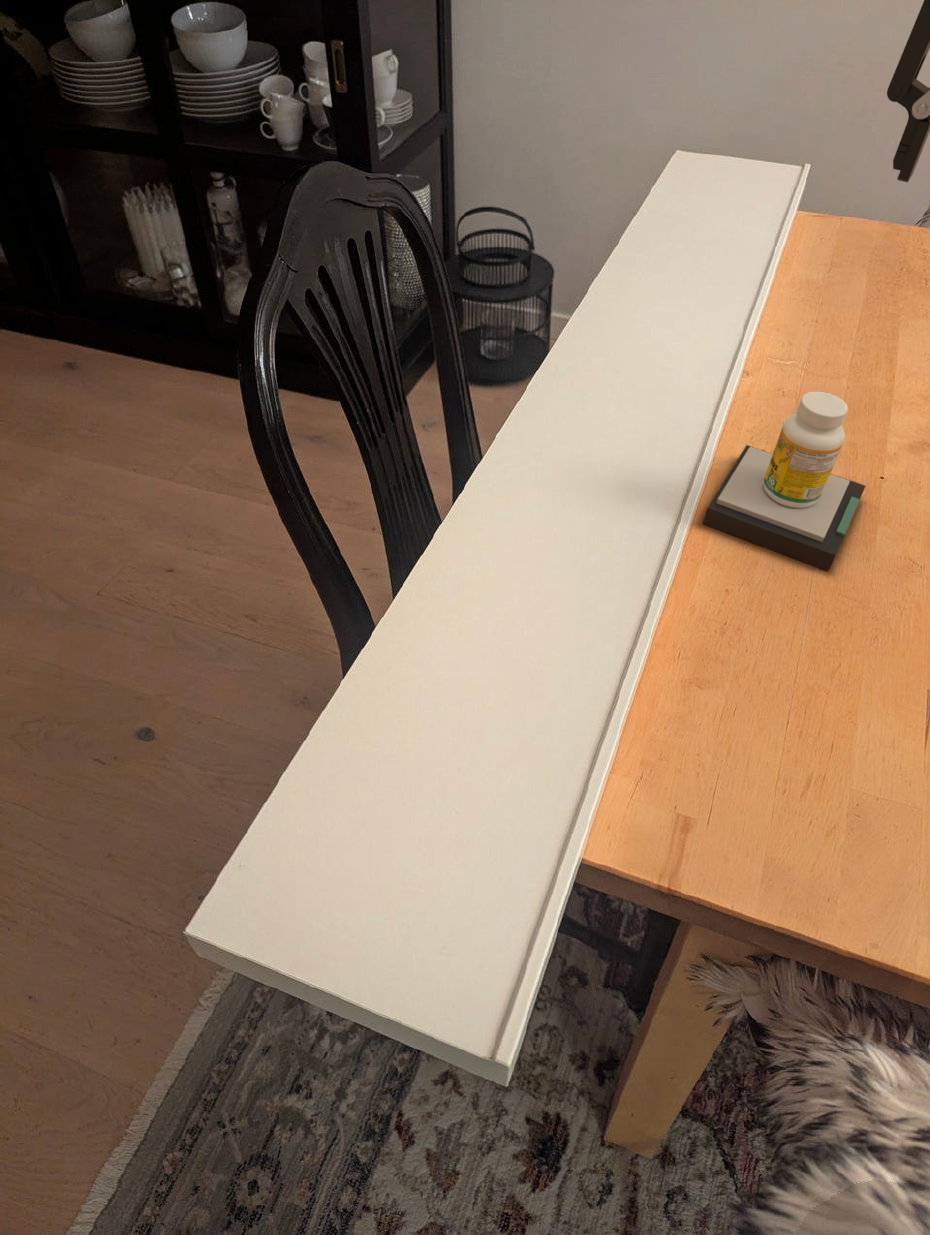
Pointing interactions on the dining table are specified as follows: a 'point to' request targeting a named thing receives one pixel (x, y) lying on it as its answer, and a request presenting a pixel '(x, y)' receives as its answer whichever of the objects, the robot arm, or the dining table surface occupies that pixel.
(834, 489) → the scale
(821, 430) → the supplement bottle
